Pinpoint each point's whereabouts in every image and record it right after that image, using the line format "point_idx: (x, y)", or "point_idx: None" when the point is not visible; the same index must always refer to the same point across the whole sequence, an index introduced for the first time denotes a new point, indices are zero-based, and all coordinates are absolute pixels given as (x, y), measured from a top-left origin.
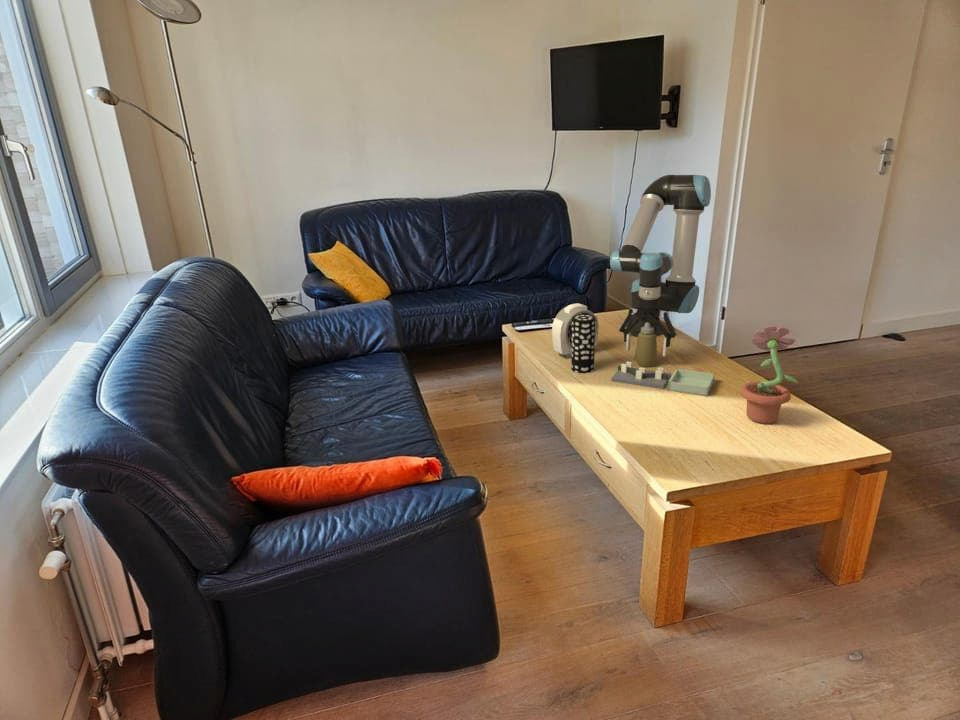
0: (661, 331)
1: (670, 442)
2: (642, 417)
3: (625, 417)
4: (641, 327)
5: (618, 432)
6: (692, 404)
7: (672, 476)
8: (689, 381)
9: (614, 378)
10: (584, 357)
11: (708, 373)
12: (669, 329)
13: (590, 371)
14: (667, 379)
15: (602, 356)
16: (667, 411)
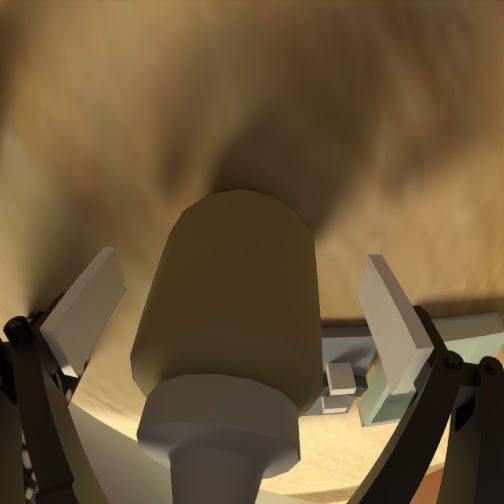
0: (382, 455)
1: (347, 484)
2: (304, 472)
3: (275, 476)
4: (146, 452)
5: (275, 489)
6: None
7: (344, 500)
8: None
9: None
10: None
11: (497, 337)
12: (454, 462)
13: (88, 362)
14: (363, 377)
15: (27, 204)
16: (349, 455)
